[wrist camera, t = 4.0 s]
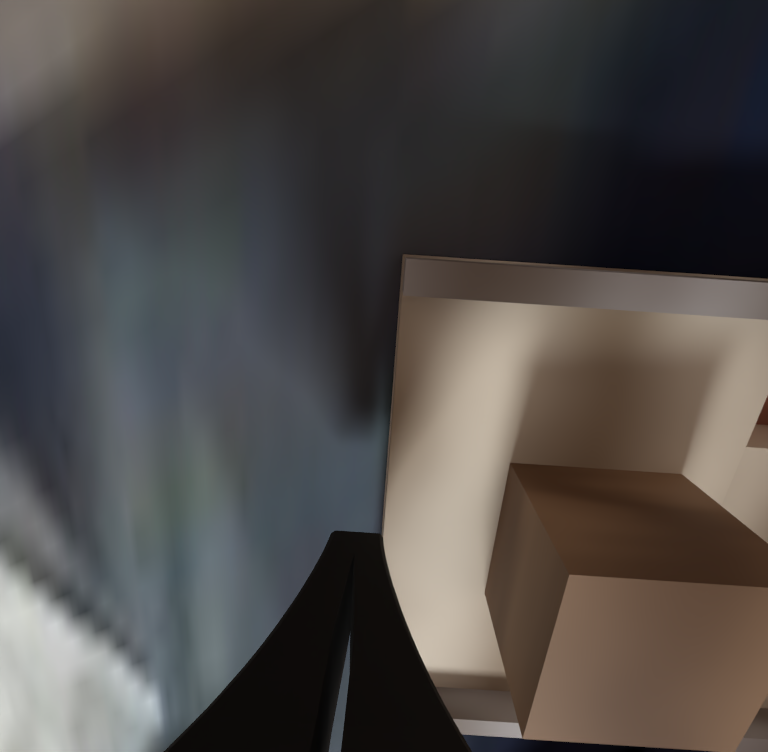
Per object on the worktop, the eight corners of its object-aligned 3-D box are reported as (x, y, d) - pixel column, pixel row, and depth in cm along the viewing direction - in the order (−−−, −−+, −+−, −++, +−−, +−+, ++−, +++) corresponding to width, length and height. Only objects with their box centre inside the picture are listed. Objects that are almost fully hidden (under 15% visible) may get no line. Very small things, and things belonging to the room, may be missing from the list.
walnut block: (484, 593, 13) (522, 739, 9) (510, 462, 11) (569, 574, 7) (634, 603, 13) (734, 753, 9) (681, 474, 11) (827, 591, 7)
